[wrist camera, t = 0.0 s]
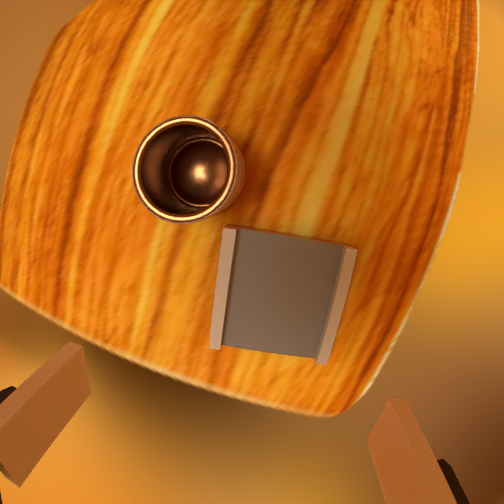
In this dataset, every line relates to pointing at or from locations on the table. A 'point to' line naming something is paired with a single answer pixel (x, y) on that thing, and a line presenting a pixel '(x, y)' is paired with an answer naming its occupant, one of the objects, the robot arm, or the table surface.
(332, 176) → the table surface
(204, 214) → the planter
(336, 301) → the grey square tray
